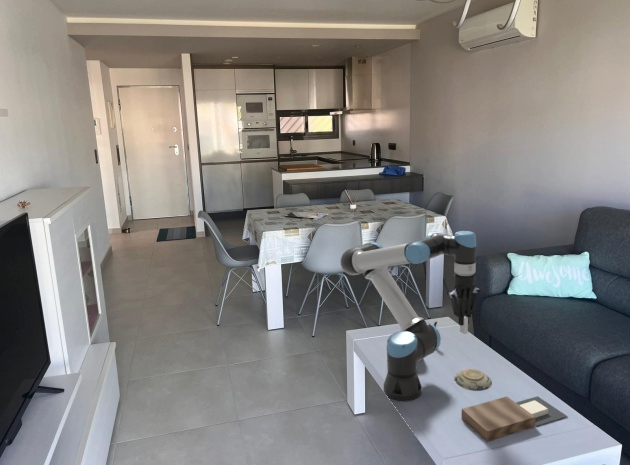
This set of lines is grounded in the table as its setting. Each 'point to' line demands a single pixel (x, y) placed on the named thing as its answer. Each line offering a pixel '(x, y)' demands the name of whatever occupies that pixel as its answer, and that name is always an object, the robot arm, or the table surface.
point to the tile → (535, 408)
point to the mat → (547, 418)
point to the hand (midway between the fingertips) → (463, 332)
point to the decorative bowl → (473, 379)
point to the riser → (498, 418)
